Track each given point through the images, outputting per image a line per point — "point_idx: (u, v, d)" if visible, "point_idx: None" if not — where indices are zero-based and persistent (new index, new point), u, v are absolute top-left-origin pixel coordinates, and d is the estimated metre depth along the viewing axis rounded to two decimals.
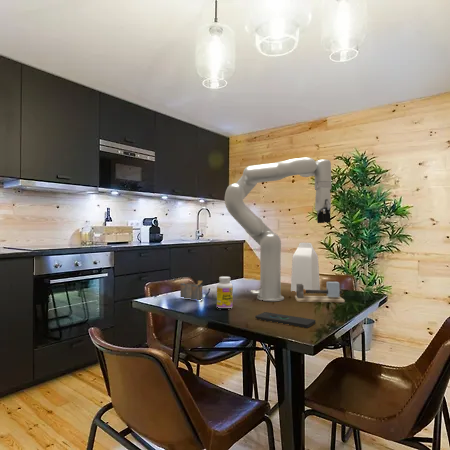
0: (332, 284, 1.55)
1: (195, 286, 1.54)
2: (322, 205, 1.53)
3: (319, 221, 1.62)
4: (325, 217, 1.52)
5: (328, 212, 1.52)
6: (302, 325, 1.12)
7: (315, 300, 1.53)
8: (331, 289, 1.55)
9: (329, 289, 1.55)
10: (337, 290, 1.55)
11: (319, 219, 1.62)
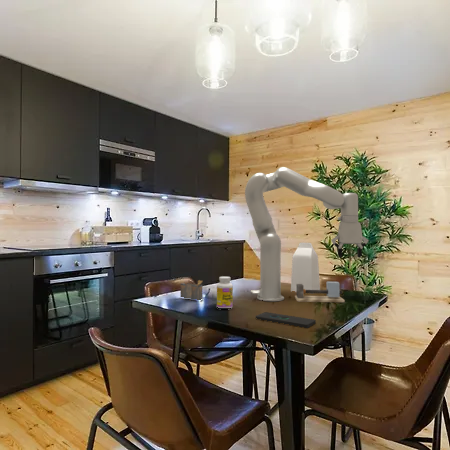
0: (332, 284, 1.55)
1: (195, 286, 1.54)
2: None
3: None
4: (361, 252, 1.55)
5: None
6: (302, 325, 1.12)
7: (315, 300, 1.53)
8: (331, 289, 1.55)
9: (329, 289, 1.55)
10: (337, 290, 1.55)
11: None
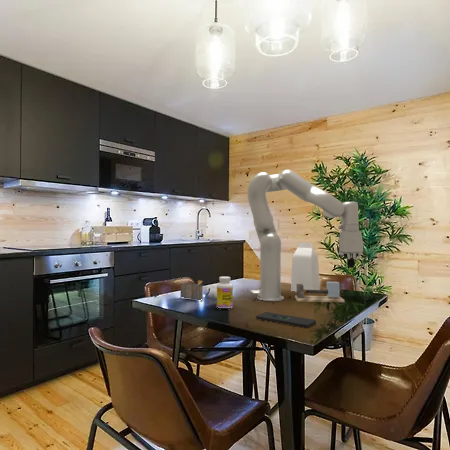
0: (332, 284, 1.55)
1: (195, 286, 1.54)
2: None
3: None
4: (354, 262, 1.55)
5: None
6: (302, 325, 1.12)
7: (315, 300, 1.53)
8: (331, 289, 1.55)
9: (329, 289, 1.55)
10: (337, 290, 1.55)
11: None
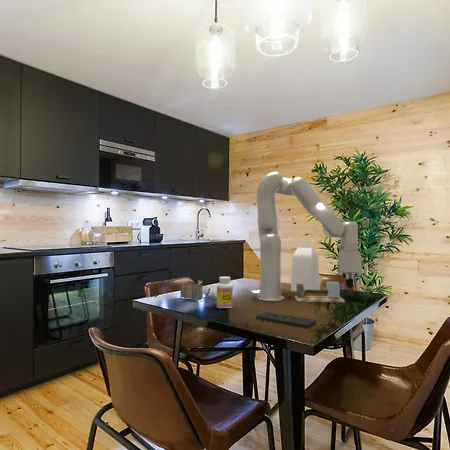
0: (332, 284, 1.55)
1: (195, 286, 1.54)
2: None
3: None
4: (352, 283, 1.55)
5: None
6: (302, 325, 1.12)
7: (315, 300, 1.53)
8: (331, 289, 1.55)
9: (329, 289, 1.55)
10: (337, 290, 1.55)
11: None
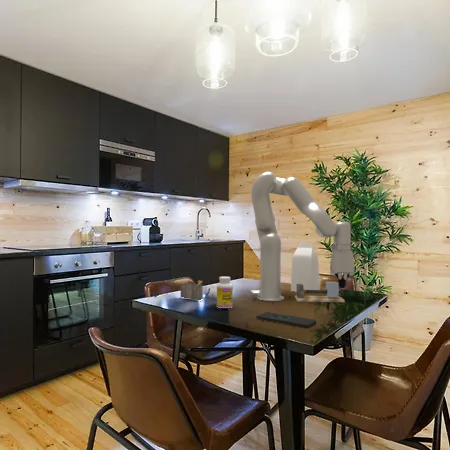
0: (331, 284, 1.55)
1: (195, 286, 1.54)
2: None
3: None
4: None
5: None
6: (302, 325, 1.12)
7: (315, 300, 1.53)
8: (330, 289, 1.55)
9: (328, 289, 1.55)
10: (336, 290, 1.55)
11: None
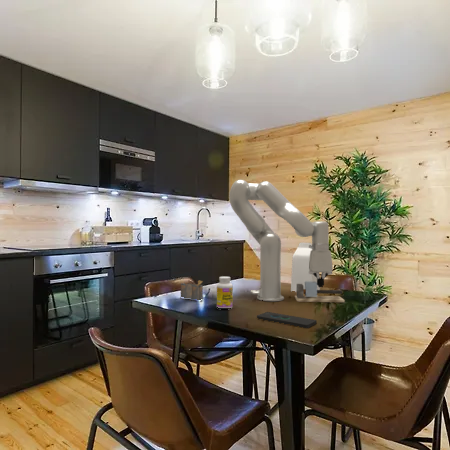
0: (310, 284, 1.56)
1: (195, 286, 1.54)
2: None
3: None
4: (323, 282, 1.56)
5: None
6: (302, 325, 1.12)
7: (315, 300, 1.53)
8: (309, 289, 1.56)
9: (307, 289, 1.56)
10: (315, 290, 1.55)
11: None
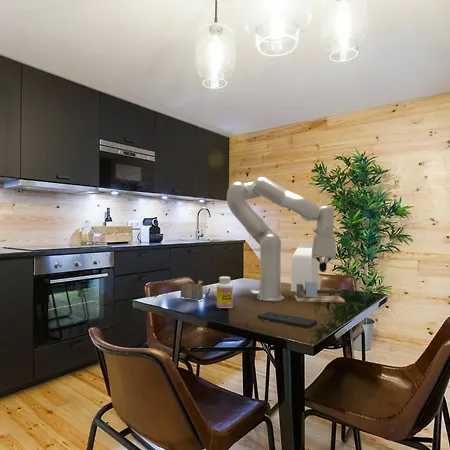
0: (310, 284, 1.56)
1: (195, 286, 1.54)
2: (335, 253, 1.55)
3: None
4: (325, 267, 1.56)
5: None
6: (302, 325, 1.12)
7: (315, 300, 1.53)
8: (309, 289, 1.56)
9: (307, 289, 1.56)
10: (315, 290, 1.55)
11: None
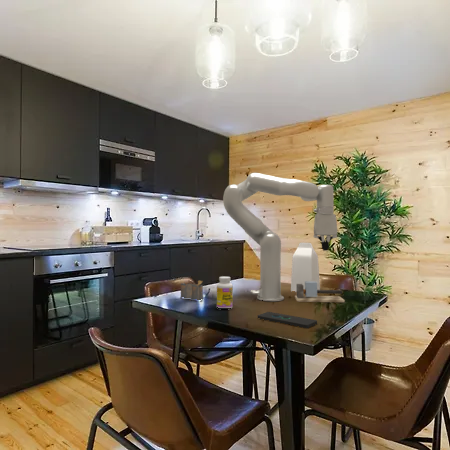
0: (310, 284, 1.56)
1: (195, 286, 1.54)
2: None
3: None
4: (328, 245, 1.57)
5: None
6: (302, 325, 1.12)
7: (315, 300, 1.53)
8: (309, 289, 1.56)
9: (307, 289, 1.56)
10: (315, 290, 1.55)
11: None
